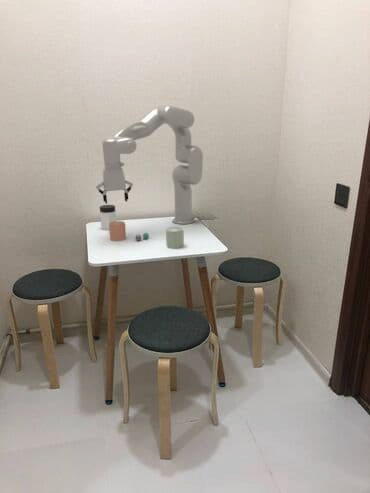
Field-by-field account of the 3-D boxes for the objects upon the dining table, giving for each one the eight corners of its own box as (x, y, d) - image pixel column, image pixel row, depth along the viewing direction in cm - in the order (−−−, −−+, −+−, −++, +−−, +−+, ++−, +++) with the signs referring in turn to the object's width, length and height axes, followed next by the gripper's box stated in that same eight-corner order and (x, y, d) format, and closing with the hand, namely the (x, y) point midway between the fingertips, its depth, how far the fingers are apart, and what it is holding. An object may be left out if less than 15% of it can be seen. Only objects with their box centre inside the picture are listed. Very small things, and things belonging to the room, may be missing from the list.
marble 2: (149, 233, 192) (149, 239, 194) (147, 231, 195) (147, 236, 196) (143, 234, 191) (143, 240, 193) (141, 232, 194) (141, 237, 195)
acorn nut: (180, 242, 188) (180, 226, 185) (185, 247, 181) (184, 230, 178) (165, 244, 186) (164, 227, 183) (169, 249, 179) (168, 232, 176)
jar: (111, 224, 219) (109, 203, 216) (120, 227, 214) (118, 206, 210) (97, 228, 213) (95, 206, 209) (106, 231, 208) (105, 208, 204)
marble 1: (142, 234, 191) (142, 239, 192) (137, 232, 192) (138, 237, 194) (138, 237, 189) (138, 242, 190) (133, 235, 190) (134, 240, 192)
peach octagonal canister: (124, 235, 200) (123, 220, 197) (126, 239, 193) (125, 224, 190) (109, 237, 198) (108, 221, 195) (111, 241, 191) (110, 225, 188)
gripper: (129, 163, 189) (132, 198, 195) (93, 166, 185) (97, 202, 191) (132, 165, 183) (135, 201, 188) (94, 168, 178) (98, 205, 184)
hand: (116, 201), depth 190 cm, fingers open, 9 cm apart
